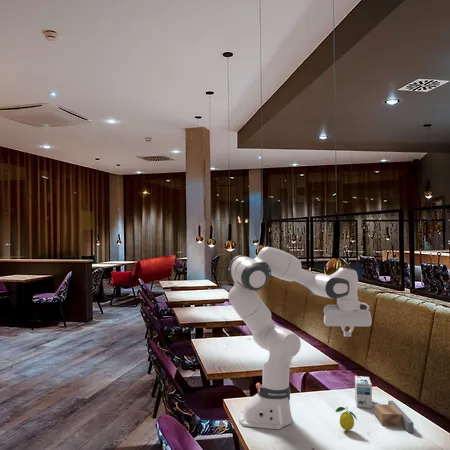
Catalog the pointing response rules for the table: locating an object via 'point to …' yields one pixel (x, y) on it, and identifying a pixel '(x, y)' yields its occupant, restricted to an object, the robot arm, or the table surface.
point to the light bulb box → (363, 392)
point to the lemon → (346, 419)
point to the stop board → (404, 419)
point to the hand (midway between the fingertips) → (347, 336)
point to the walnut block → (388, 415)
